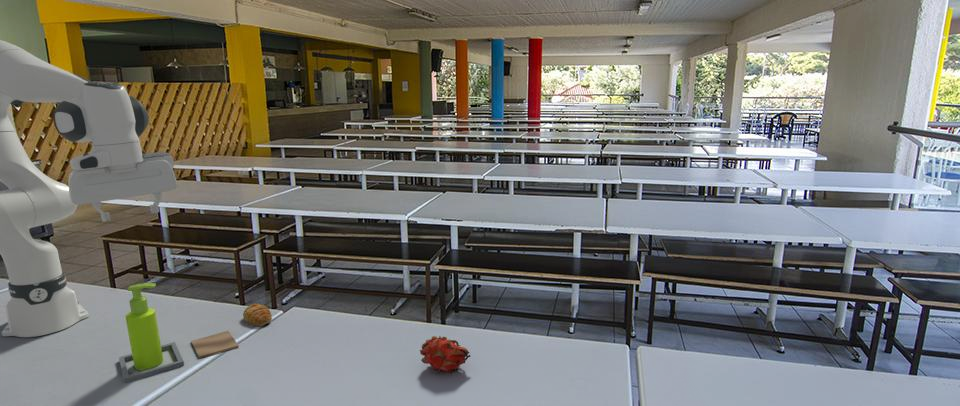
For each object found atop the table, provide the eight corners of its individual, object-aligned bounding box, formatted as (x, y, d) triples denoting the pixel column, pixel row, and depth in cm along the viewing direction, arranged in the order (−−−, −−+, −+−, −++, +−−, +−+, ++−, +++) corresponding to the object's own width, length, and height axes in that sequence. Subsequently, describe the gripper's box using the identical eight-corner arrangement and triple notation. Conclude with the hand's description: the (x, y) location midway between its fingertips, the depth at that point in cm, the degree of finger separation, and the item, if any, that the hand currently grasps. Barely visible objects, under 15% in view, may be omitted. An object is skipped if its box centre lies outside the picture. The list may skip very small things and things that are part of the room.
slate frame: (119, 361, 128) (118, 357, 128) (175, 345, 136) (174, 341, 135) (124, 382, 119) (123, 379, 119) (184, 365, 126) (183, 361, 126)
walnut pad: (191, 342, 137) (191, 341, 137) (228, 332, 142) (228, 330, 142) (199, 358, 129) (199, 356, 129) (238, 346, 135) (238, 345, 134)
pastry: (278, 322, 148) (277, 309, 148) (254, 330, 144) (253, 317, 143) (264, 312, 155) (262, 299, 154) (240, 319, 150) (239, 307, 149)
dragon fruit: (417, 370, 126) (466, 380, 125) (412, 367, 118) (464, 378, 117) (425, 334, 129) (473, 344, 128) (421, 329, 122) (472, 339, 120)
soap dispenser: (165, 366, 126) (152, 287, 121) (132, 372, 124) (117, 292, 119) (169, 354, 131) (157, 278, 126) (137, 359, 129) (123, 283, 124)
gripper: (168, 149, 126) (178, 205, 129) (60, 161, 113) (75, 224, 116) (174, 151, 122) (185, 209, 125) (63, 163, 108) (78, 228, 111)
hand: (131, 216), depth 120 cm, fingers open, 8 cm apart
